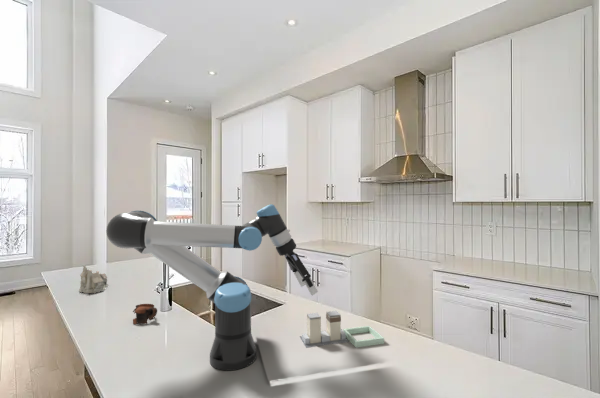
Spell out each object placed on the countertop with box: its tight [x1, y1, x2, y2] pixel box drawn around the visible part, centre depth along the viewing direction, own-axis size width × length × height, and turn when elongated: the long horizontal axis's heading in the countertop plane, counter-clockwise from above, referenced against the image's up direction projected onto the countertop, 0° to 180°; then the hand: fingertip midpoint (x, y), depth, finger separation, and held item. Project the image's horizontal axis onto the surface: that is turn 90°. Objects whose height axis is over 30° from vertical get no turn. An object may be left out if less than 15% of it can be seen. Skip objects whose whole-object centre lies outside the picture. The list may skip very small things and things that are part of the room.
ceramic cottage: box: [78, 265, 110, 294], centre depth 182 cm, size 16×16×15 cm
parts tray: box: [342, 325, 385, 348], centre depth 113 cm, size 11×11×3 cm
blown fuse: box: [325, 310, 342, 341], centre depth 114 cm, size 4×4×9 cm
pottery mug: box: [132, 303, 158, 325], centre depth 135 cm, size 12×10×8 cm
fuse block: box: [299, 328, 350, 349], centre depth 113 cm, size 16×9×3 cm, turn 105°
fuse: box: [306, 312, 322, 343], centre depth 112 cm, size 4×4×9 cm
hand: (309, 289), depth 121 cm, fingers open, 13 cm apart
